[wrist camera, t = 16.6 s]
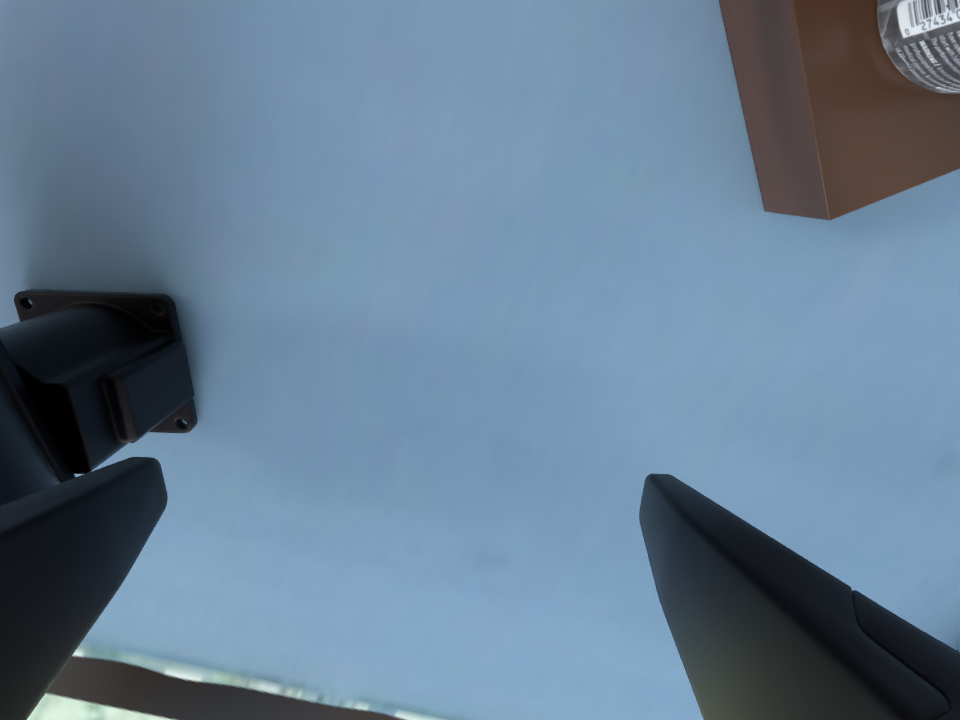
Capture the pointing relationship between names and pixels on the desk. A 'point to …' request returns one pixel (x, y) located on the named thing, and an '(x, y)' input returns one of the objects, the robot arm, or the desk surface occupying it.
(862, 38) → the block
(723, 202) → the desk surface
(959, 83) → the pill bottle
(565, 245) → the desk surface
